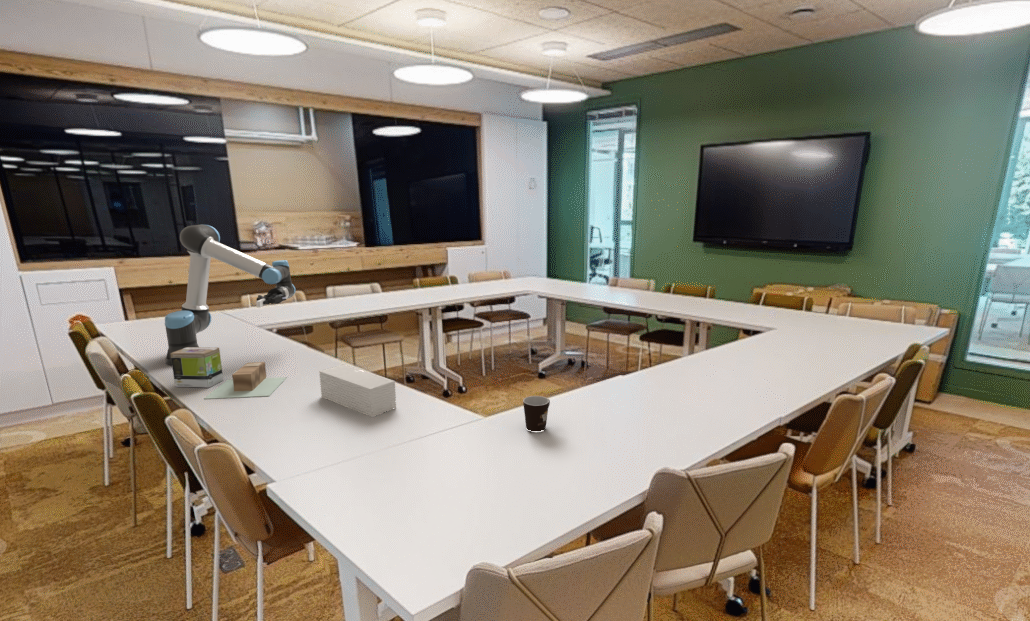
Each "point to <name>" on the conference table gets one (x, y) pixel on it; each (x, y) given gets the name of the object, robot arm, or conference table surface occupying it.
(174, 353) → the tea box
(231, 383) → the mat
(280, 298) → the robot arm
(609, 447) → the conference table surface
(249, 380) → the walnut block
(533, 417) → the coffee mug
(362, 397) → the stack of papers
